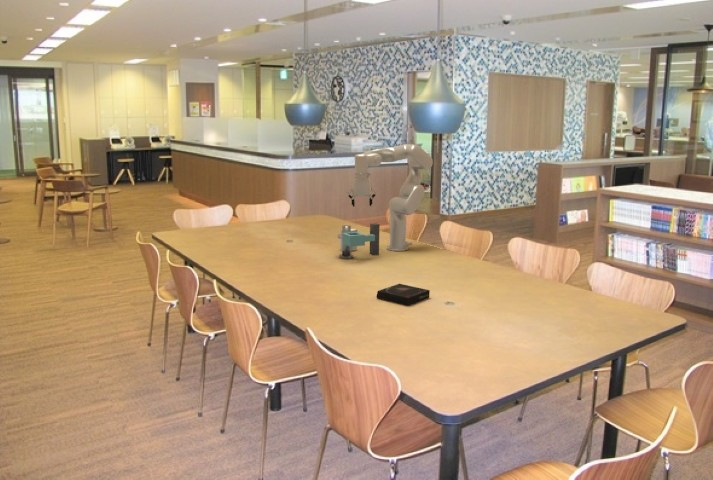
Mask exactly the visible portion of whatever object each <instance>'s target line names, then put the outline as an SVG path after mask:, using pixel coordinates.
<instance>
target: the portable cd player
mask: <svg viewBox="0 0 713 480" xmlns="http://www.w3.org/2000/svg"><path fill="white" fill-rule="evenodd" d="M430 291H431V290H430V289H425V288H422V287H417V286H411V285H408V284H407V285H406V284H402V283H397V284H395V285H391V286H388V287H385V288H382V289H380V290H379V289H378V290H377V292H376V293H377V294H376V296H375V297H376V299H377V300H382V301H386V302H390V303H394V304H398V305H402V306H407V307H409V306H412V305H415V304H417V303H419V302H422V301H425V300H428V299H429V298H430Z"/></svg>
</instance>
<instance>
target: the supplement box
mask: <svg viewBox="0 0 713 480" xmlns="http://www.w3.org/2000/svg"><path fill="white" fill-rule="evenodd" d="M351 232H358V228H357V229H356V228H351ZM340 234H342V229H340ZM339 244H340V245H339V246H340V247H339V249H340V251H342V239H340V243H339ZM357 250H358V246H354V247H351V248H350V252H353V251H357Z"/></svg>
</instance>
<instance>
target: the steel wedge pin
mask: <svg viewBox="0 0 713 480" xmlns="http://www.w3.org/2000/svg"><path fill="white" fill-rule="evenodd" d="M380 228H381V227H380V223H377V222H375V223H369V234H373V235H375V241H369V255H370V254H371V255H370V256H379V255H380Z"/></svg>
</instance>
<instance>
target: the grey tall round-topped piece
mask: <svg viewBox="0 0 713 480" xmlns="http://www.w3.org/2000/svg"><path fill="white" fill-rule="evenodd" d="M351 227H352V226H351V225H350V224H349V225H348V224H345V225H344V224H343V225H342V227H341V230H342V233H350V232H351V229H352V228H351ZM337 239H340V240H341V239H342V234H341V233H339V234H337ZM350 248H351V247H349V246H347V245H344V244H342V250H341V254H339V256H338V257H339V258H340V259H342V260H345V259H346V260H349V259H353V258H354V254H351V251H350Z"/></svg>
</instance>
